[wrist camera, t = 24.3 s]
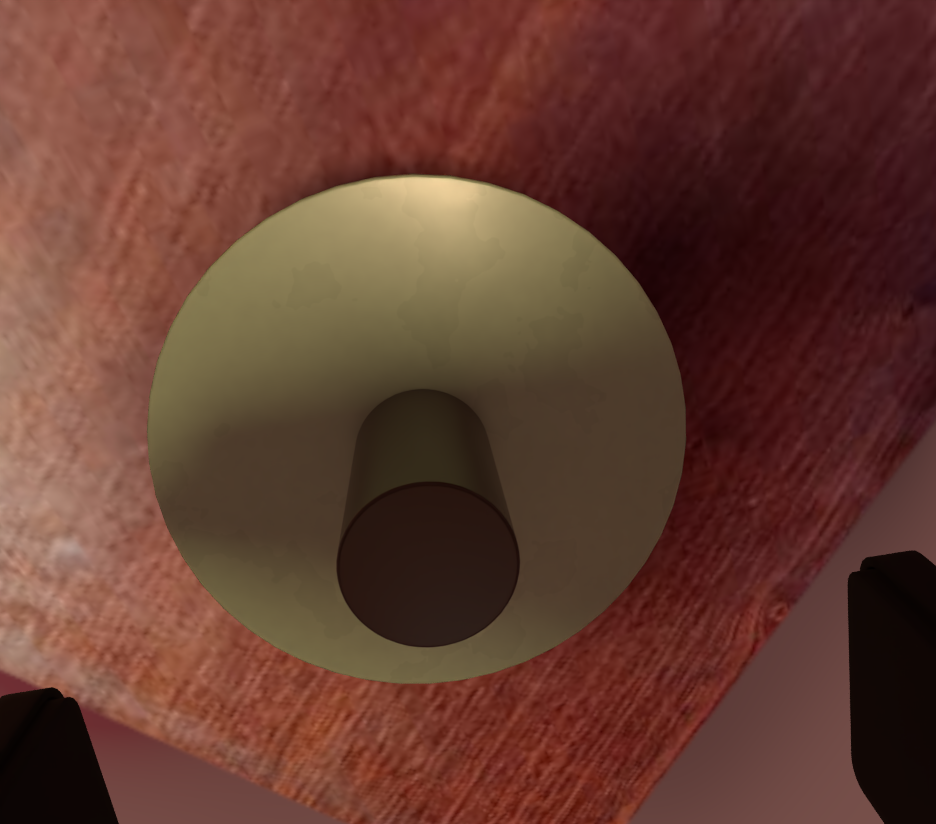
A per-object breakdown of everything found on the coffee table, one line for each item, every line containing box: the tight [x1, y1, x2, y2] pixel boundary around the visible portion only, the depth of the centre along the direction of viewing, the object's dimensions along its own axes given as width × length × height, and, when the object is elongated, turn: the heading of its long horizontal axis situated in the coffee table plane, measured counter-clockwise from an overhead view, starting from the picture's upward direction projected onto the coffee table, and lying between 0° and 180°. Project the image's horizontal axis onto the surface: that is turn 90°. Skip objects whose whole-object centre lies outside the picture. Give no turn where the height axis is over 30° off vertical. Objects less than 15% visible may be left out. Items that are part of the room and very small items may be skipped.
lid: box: [147, 174, 686, 683], centre depth 17 cm, size 12×12×7 cm
